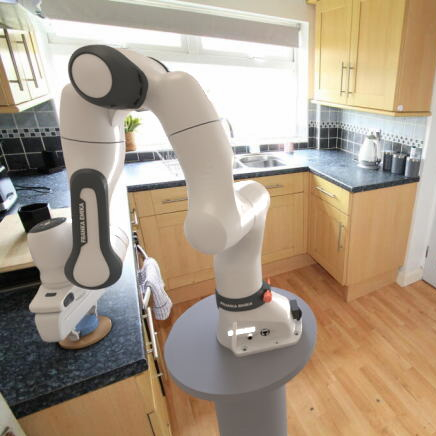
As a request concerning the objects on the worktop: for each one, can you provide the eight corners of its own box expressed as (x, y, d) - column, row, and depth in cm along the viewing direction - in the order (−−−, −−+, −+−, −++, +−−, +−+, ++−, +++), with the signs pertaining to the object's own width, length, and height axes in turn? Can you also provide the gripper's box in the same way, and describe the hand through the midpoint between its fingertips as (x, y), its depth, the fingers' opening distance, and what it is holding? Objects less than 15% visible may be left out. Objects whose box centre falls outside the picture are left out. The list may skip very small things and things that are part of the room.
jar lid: (64, 332, 80) (62, 327, 79) (89, 316, 85) (87, 311, 84) (80, 339, 78) (77, 334, 77) (104, 323, 83) (102, 318, 82)
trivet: (119, 316, 87) (118, 314, 87) (97, 347, 77) (97, 345, 77) (76, 319, 86) (75, 316, 86) (48, 350, 76) (47, 348, 76)
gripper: (80, 261, 85) (94, 302, 90) (22, 312, 66) (44, 360, 72) (105, 260, 86) (117, 301, 91) (55, 310, 67) (74, 358, 73)
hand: (84, 328), depth 81 cm, fingers closed on jar lid, 6 cm apart
